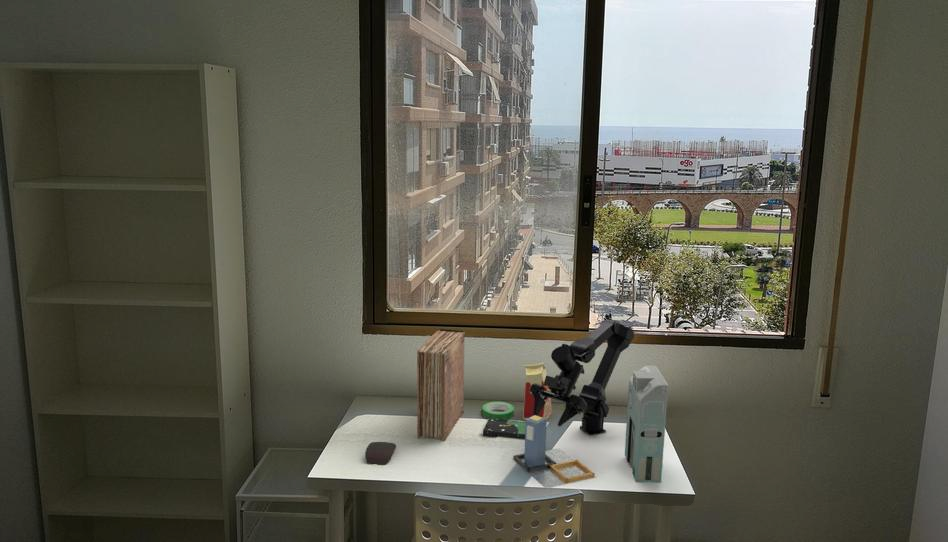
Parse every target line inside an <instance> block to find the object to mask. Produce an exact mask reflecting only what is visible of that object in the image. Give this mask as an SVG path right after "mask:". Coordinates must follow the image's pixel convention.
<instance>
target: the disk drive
mask: <svg viewBox="0 0 948 542" xmlns="http://www.w3.org/2000/svg"><path fill="white" fill-rule="evenodd" d="M525 422H526V421H519V420H510V419H506V420H501V419H490V418H489V419H488V418H487V421H486V423H485V426H484V427H483V429H482V437H487V438H498V437H502V438H510V439H511V438H512V439H519V440H520V439H521V440H525Z"/></svg>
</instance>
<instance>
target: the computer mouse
mask: <svg viewBox="0 0 948 542" xmlns="http://www.w3.org/2000/svg"><path fill="white" fill-rule="evenodd" d="M396 448H397V444H396V443H393V442H387V441H372V442H370V443H368V445H367V447H366V449H365V453H364V454H365V455H364V458H365V462H366V464H367V465H373V464H377V465H376V466H386V465H387V464H388V463H389V462H390V461H391V459H392V458H393V455H394V452H395V450H396Z"/></svg>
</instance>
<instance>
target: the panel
mask: <svg viewBox="0 0 948 542" xmlns="http://www.w3.org/2000/svg"><path fill="white" fill-rule="evenodd" d="M524 456H525V452H524V453H520V454H514V455H513V457H511V459H512V460H513V461H514V462H515V463H516V464H517V465H519V467H521V468H522V469H523V470H525V471H526V472H527V473H528V474H529V475H530V476H531V477H532V478H534V480H536V481H537V482H538V484H540V485H541V486H542V487H543V488H545V489H549V488H550V489H551V488H556V487H558V486H559V487H560V486H564V485H569V484H573V483H577V482H582V481H587V480H591V479H596V478H597V476H595V472H594V471H592V470H591V469H590V468H588V467H587V466H586V465H584V463H582V462H581V461H579V459H574V458H572V457H571V456H570V455H569V454H567V453H566V452H565V451H563V450H562V449H561V448H554V449H550V450H545V462H544V463H543V464H541V465H539V466H532V465H529V464H526V463H524Z"/></svg>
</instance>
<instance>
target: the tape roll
mask: <svg viewBox="0 0 948 542" xmlns="http://www.w3.org/2000/svg"><path fill="white" fill-rule="evenodd" d="M494 410H495V411H494ZM499 410H500V411H499ZM498 411H499V412H498ZM482 415H483V417H484V418H486V419H487V420H488V419H489V418H490V419H501V420H505V419H506V420H510V419H512V418H513V417H514V416H515V408H514V405H513V404H511V403H507V402H505V401H504V402H503V401H490V402H487V403H485V404H484V405H482ZM513 415H514V416H513ZM511 417H512V418H511ZM509 418H510V419H509Z"/></svg>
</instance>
